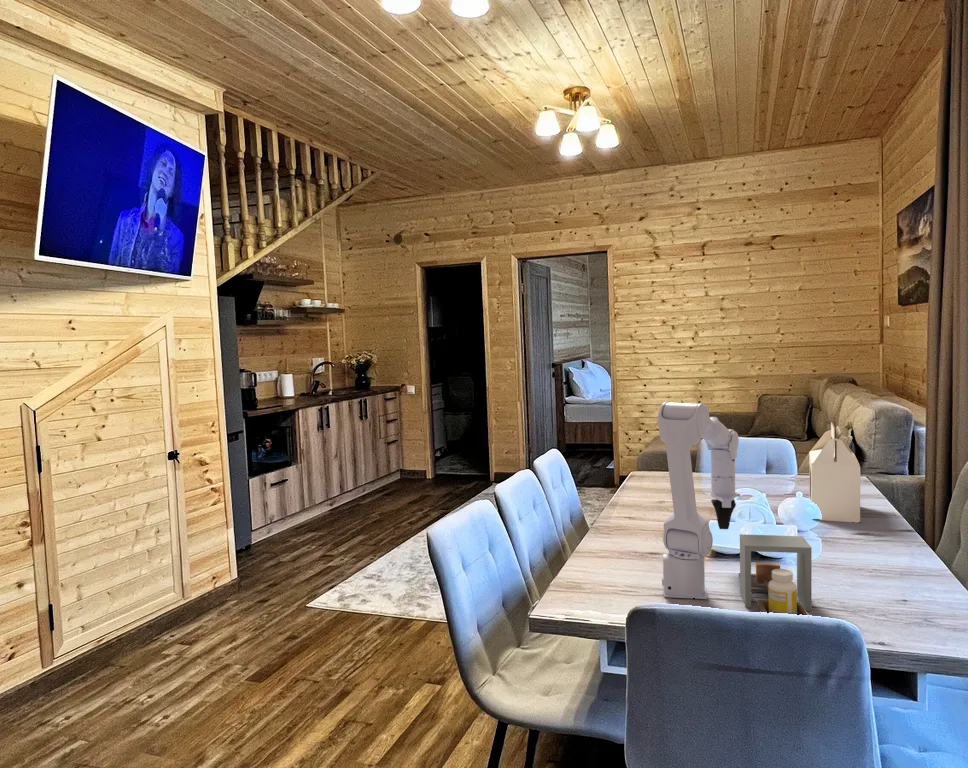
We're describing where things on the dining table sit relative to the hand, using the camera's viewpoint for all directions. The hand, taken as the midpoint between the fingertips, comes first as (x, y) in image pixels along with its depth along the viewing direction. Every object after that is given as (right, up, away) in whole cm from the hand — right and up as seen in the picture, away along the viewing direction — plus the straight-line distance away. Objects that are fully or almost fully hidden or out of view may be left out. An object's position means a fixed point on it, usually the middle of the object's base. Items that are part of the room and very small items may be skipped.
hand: (723, 528), depth 173 cm
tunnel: (+3, -11, -23) cm, 26 cm away
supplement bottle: (+1, -12, -32) cm, 34 cm away
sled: (+2, -11, -26) cm, 28 cm away
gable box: (+50, -4, +44) cm, 67 cm away
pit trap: (+5, -10, -14) cm, 18 cm away
